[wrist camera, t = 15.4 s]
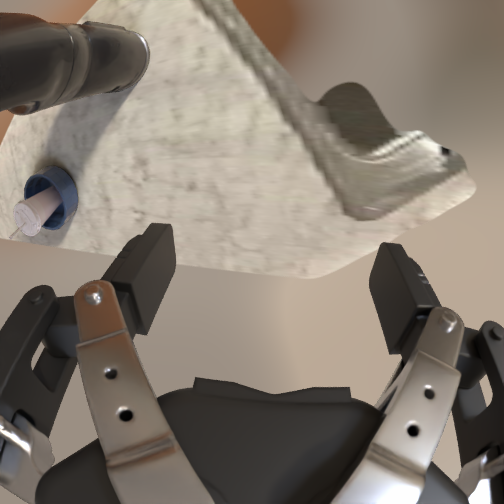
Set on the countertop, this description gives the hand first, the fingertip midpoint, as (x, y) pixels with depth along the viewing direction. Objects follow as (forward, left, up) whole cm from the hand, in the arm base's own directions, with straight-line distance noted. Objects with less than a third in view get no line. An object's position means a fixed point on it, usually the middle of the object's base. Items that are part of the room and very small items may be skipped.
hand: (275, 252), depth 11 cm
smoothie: (-10, -39, -30) cm, 50 cm away
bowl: (-10, -39, -30) cm, 50 cm away
